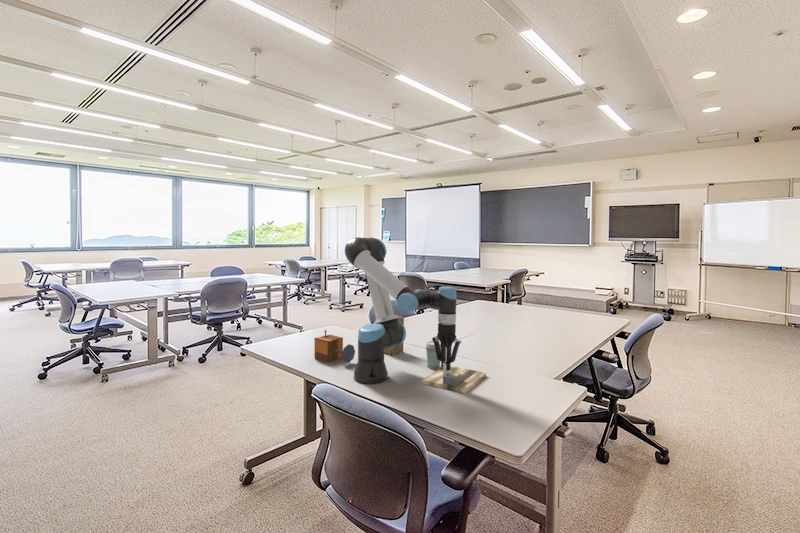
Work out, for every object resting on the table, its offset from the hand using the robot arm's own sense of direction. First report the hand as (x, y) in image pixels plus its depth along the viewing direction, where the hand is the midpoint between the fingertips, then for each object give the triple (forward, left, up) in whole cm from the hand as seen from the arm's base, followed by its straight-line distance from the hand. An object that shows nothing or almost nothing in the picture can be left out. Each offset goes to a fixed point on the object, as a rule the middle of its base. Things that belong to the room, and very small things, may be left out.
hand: (445, 377), depth 167 cm
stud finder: (+4, 0, -2) cm, 4 cm away
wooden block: (-47, +28, -3) cm, 55 cm away
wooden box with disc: (-62, -1, -3) cm, 62 cm away
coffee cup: (-15, +18, -3) cm, 24 cm away
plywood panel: (+1, +8, -3) cm, 8 cm away
